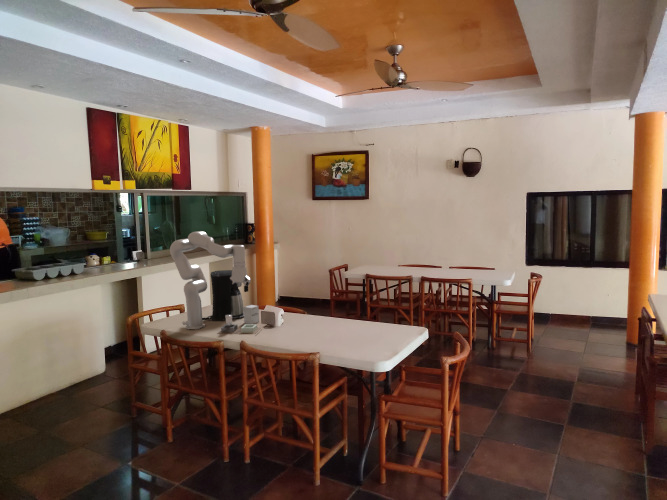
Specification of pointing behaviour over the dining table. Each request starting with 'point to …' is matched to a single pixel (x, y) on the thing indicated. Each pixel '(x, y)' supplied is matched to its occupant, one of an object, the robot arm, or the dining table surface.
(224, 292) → the coffee maker
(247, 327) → the dock socket
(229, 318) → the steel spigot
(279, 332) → the dining table surface
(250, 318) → the supplement box
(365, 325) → the dining table surface
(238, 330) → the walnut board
